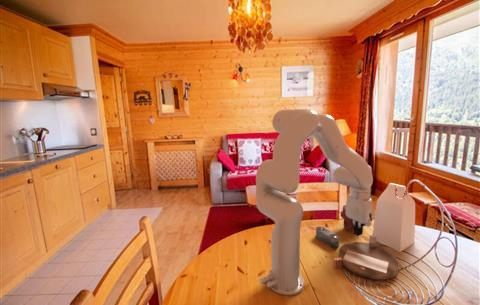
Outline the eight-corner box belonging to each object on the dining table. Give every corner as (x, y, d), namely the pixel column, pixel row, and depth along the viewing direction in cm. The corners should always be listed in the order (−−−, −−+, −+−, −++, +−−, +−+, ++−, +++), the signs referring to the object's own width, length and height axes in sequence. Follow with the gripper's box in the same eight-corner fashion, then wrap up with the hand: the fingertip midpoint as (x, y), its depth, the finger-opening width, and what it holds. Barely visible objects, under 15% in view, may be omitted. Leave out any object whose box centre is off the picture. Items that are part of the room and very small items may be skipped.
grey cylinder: (334, 249, 103) (334, 239, 103) (314, 236, 114) (314, 227, 113) (341, 246, 105) (341, 237, 104) (320, 234, 116) (320, 225, 115)
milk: (371, 239, 110) (375, 183, 106) (386, 231, 116) (390, 179, 111) (400, 251, 100) (405, 191, 95) (414, 243, 106) (420, 185, 101)
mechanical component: (359, 225, 123) (365, 235, 113) (338, 224, 125) (342, 234, 115) (360, 202, 121) (366, 210, 111) (339, 201, 123) (343, 209, 113)
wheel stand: (350, 279, 85) (351, 270, 85) (332, 266, 92) (333, 258, 92) (379, 265, 92) (379, 257, 91) (360, 254, 99) (360, 246, 98)
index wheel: (374, 286, 80) (375, 269, 79) (327, 255, 97) (328, 240, 96) (410, 267, 88) (411, 251, 87) (361, 241, 106) (362, 227, 105)
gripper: (339, 190, 106) (337, 229, 109) (370, 201, 93) (368, 245, 96) (351, 187, 109) (349, 225, 113) (383, 197, 96) (380, 240, 99)
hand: (358, 234), depth 104 cm, fingers closed
